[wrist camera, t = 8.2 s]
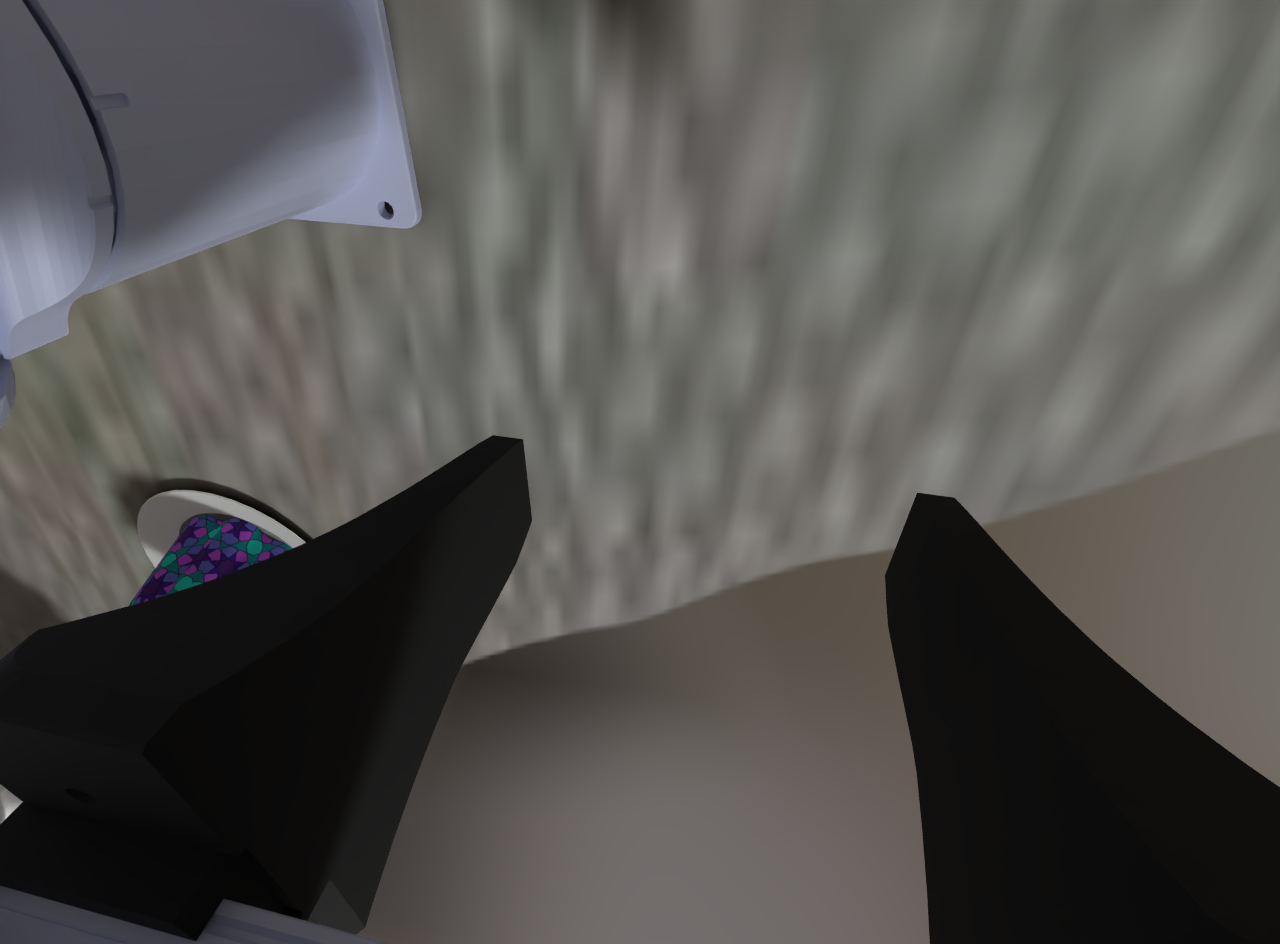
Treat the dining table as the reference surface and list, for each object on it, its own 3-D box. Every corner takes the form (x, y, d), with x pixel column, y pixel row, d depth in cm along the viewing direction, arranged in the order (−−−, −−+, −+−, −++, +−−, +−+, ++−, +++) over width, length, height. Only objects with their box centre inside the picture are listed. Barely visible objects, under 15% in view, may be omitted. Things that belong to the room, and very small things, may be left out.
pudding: (361, 532, 29) (290, 615, 25) (362, 664, 36) (307, 746, 32) (124, 447, 29) (12, 517, 24) (174, 598, 36) (94, 671, 32)
